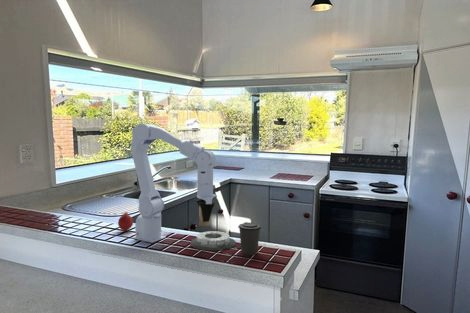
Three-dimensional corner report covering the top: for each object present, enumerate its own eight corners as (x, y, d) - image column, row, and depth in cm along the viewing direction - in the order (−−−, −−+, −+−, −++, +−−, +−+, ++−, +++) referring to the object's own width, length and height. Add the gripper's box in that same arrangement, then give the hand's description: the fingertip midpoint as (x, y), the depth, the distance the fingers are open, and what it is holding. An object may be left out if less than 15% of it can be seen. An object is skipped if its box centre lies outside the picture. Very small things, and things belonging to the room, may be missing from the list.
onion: (128, 233, 134) (128, 214, 134) (115, 232, 135) (115, 213, 135) (135, 230, 140) (135, 211, 140) (122, 229, 141) (122, 210, 141)
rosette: (180, 245, 121) (180, 237, 121) (206, 234, 136) (206, 227, 136) (220, 253, 113) (221, 245, 113) (243, 240, 128) (244, 233, 128)
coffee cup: (242, 247, 120) (242, 219, 120) (264, 250, 117) (264, 222, 117) (234, 254, 113) (234, 225, 112) (257, 257, 110) (257, 227, 109)
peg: (197, 225, 122) (197, 206, 122) (203, 222, 126) (203, 204, 125) (206, 226, 120) (206, 207, 120) (212, 224, 124) (212, 205, 123)
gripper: (220, 185, 116) (220, 224, 117) (211, 180, 130) (211, 215, 131) (200, 186, 114) (200, 225, 115) (193, 181, 128) (193, 216, 129)
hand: (204, 220), depth 123 cm, fingers closed on peg, 4 cm apart
